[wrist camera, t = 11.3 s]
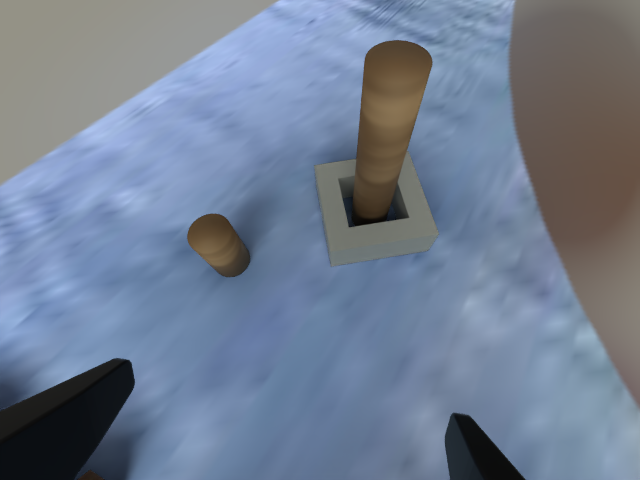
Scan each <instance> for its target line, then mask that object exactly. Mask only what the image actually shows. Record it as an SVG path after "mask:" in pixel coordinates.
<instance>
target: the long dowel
mask: <svg viewBox="0 0 640 480" xmlns="http://www.w3.org/2000/svg"><path fill="white" fill-rule="evenodd" d="M431 67H432V58H431V56H430V54H429V53H428V51H427V50H425V49H424V48H423V47H421V46H419V45H418V44H415V43H412V42H408V41H401V40H394V41H387V42H383V43H380V44H378V45H376V46H374V47H373V48H371V49H370V50H369V51H368V53H367V54H366V57H365V62H364V74H363V86H362V98H361V110H360V121H359V133H358V145H357V157H356V169H355V180H354V192H353V204H352V216H351V218H352V222H353V224H354V225H355V227H356V226H362V225H368V224H374V223H381V222H386V219H387V216H388V212H389V209H390V206H391V202H392V199H393V195H394V192H395V189H396V185H397V182H398V179H399V175H400V172H401V169H402V165H403V162H404V158H405V155H406V152H407V148H408V145H409V142H410V138H411V135H412V131H413V128H414V125H415V121H416V118H417V115H418V111H419V108H420V104H421V101H422V98H423V94H424V91H425V88H426V84H427V81H428V78H429V74H430V71H431Z"/></svg>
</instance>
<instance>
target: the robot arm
mask: <svg viewBox="0 0 640 480" xmlns="http://www.w3.org/2000/svg"><path fill="white" fill-rule="evenodd" d="M134 385H135V379H134V374H133V368H132V363H131V362H130V360H126V359H120V358H115V359H112V360H110V361H108V362H106V363H103V364H101V365H99V366H97V367H95V368H93V369H90V370H88V371H86V372H84V373H82V374H80V375H77V376H75V377H73V378H71V379H69V380H67V381H65V382H62V383H60V384H58V385H56V386H54V387H52V388H49V389H47V390H45V391H43V392H41V393H39V394H36V395H34V396H32V397H30V398H28V399H26V400H23V401H21V402H19V403H17V404H15V405H13V406H10V407H8V408H6V409H4V410H2V411H0V480H73V479H74V478H75V476H76V475H77V474H78V472H79V471H80V470H81V468H82V467H83V466H84V464H85V463H86V462H87V460H88V459H89V457H90V456H91V455H92V453H93V452H94V450H95V449H96V448H97V446H98V445H99V443H100V442H101V440H102V439H103V437H104V436H105V434H106V432H107V431H108V429H109V428H110V426H111V424H112V423H113V421H114V420H115V418H116V416H117V415H118V413H119V411H120V410H121V408H122V407H123V405H124V403H125V402H126V400H127V399H128V397H129V395H130V394H131V392H132V390H133V388H134ZM445 448H446V455H447V462H448V468H449V475H450V480H525V478H524V477H523V476H522V475H521V474H520V473H519V472H518V470H517V469H516V468H515V467H514V466H513V465H512V463H511V462H510V461H509V460H508V459H507V458H506V457H505V455H504V454H503V453H502V452H501V451H500V450H499V449H498V447H497V446H496V445H495V444H494V443H493V442H492V441H491V439H490V438H489V437H488V436H487V435H486V434H485V432H484V431H483V430H482V429H481V428H480V427H479V426H478V424H477V423H476V422H475V421H474V420H473V419H472V418H471V417H470V416H469V415H466V414H460V413H452V415H451V416H450V420H449V423H448V427H447V430H446V434H445Z"/></svg>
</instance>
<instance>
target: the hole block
mask: <svg viewBox="0 0 640 480" xmlns="http://www.w3.org/2000/svg"><path fill="white" fill-rule="evenodd" d="M314 168H315V178H316V187H317V193H318V198H319V204H320V209H321V215H322V220H323V226H324V231H325V237H326V242H327V248H328V253H329V259H330V264H331V267H332V266H338V265H344V264H350V263H357V262H363V261H369V260H375V259H381V258H387V257H393V256H400V255H406V254H412V253H418V252H424V251H428V250H429V248H430V247H431V246H432V244H433V243H434V241H435V240H436V238H437V237H438V235H439V233H438V230H437V227H436V224H435V222H434V219H433V216H432V214H431V211H430V208H429V206H428V203H427V200H426V197H425V195H424V192H423V189H422V187H421V184H420V181H419V179H418V176H417V173H416V170H415V168H414V165H413V162H412V160H411V157H410V154H409V152H408V151H407V152H406V155H405V158H404V162H403V165H402V169H401V172H400V175H399V179H398V182H397V185H396V189H395V192H394V195H393V199H392V202H391V203H392V206H393V209H394V212H395V216H396V219H397V220H393V221H387V222H381V223H374V224H368V225H362V226H356V227H349V226H348V221H347V217H346V212H345V208H344V203H343V199H342V198H347V197H353V192H354V180H355V169H356V159H352V160H345V161H339V162H332V163H326V164H319V165H314Z"/></svg>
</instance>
